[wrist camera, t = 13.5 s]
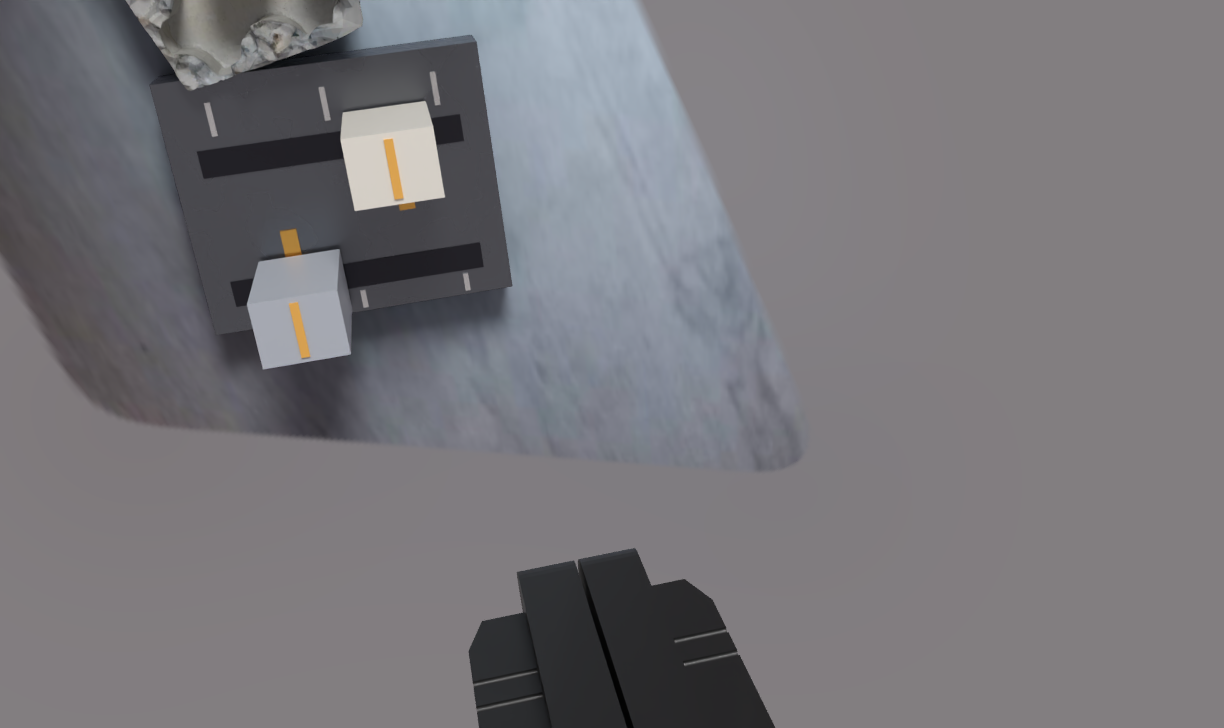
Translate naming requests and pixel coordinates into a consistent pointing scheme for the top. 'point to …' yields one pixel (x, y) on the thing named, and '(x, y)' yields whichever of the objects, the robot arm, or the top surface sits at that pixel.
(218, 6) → the egg carton
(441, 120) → the fader console
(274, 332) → the slate fader cap
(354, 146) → the ivory cap
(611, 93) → the top surface
